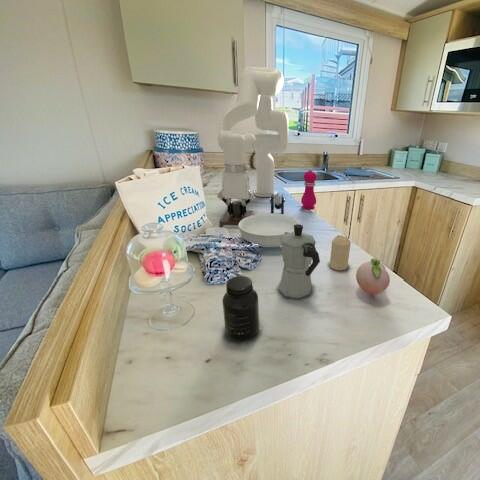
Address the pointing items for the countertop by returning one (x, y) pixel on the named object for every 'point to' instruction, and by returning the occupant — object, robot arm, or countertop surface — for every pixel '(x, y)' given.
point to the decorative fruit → (372, 277)
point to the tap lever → (277, 202)
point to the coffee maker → (297, 263)
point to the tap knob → (237, 209)
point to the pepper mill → (309, 190)
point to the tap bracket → (273, 204)
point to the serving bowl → (266, 228)
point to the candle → (340, 253)
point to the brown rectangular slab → (233, 218)
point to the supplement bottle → (240, 309)
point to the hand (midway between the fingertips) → (237, 214)
